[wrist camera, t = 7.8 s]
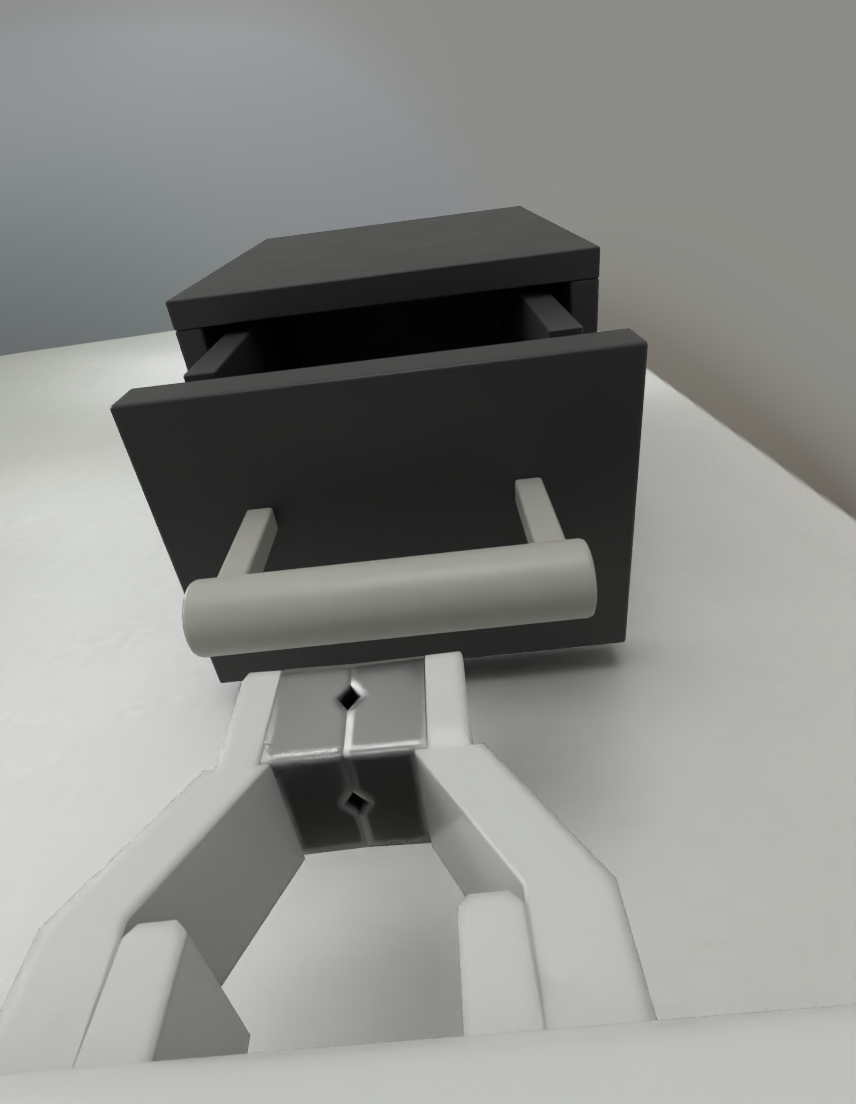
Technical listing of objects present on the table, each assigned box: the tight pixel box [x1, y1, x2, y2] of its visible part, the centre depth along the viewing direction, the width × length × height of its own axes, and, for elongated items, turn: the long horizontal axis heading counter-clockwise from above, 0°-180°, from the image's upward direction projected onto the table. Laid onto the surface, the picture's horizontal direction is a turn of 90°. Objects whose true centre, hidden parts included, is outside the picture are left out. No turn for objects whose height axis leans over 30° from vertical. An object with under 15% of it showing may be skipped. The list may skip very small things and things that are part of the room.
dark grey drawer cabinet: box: [166, 206, 600, 371], centre depth 26 cm, size 15×12×10 cm
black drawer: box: [110, 285, 648, 683], centre depth 18 cm, size 18×11×8 cm, turn 1°
